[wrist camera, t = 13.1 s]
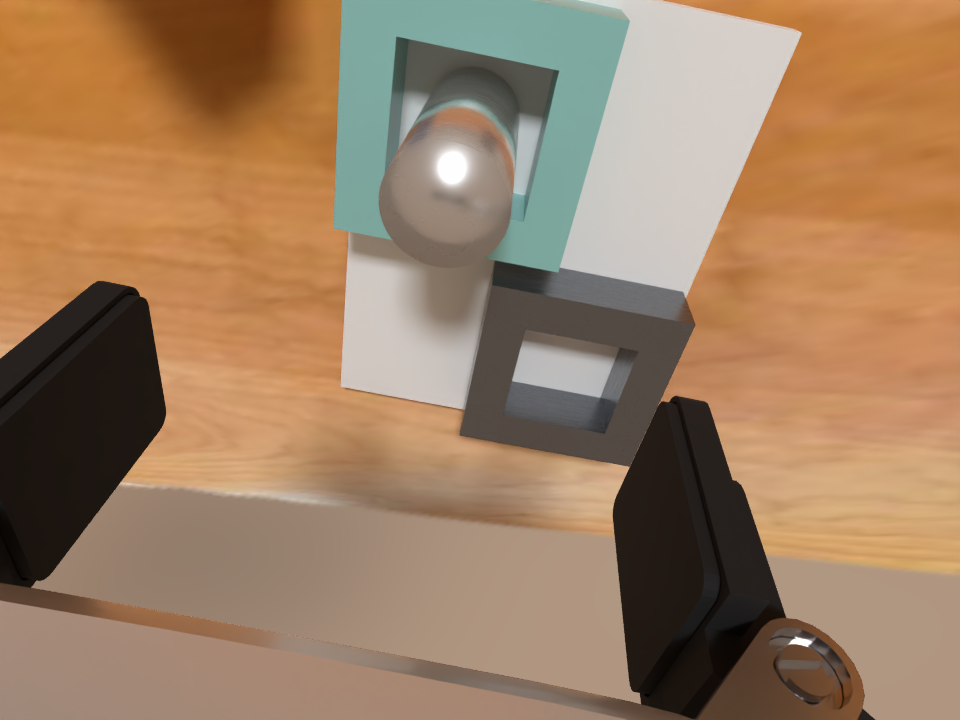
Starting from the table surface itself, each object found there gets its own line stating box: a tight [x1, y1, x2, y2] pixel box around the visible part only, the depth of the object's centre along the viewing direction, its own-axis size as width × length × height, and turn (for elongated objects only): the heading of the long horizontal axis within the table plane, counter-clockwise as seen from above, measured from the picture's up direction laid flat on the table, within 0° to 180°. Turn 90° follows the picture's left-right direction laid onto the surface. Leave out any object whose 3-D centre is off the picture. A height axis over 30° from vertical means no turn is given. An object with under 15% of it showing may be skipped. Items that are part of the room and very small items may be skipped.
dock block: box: [334, 0, 630, 273], centre depth 25 cm, size 10×10×3 cm
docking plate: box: [341, 0, 802, 409], centre depth 30 cm, size 17×22×1 cm
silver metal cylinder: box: [379, 66, 520, 268], centre depth 23 cm, size 4×4×10 cm
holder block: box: [460, 260, 695, 467], centre depth 32 cm, size 10×10×3 cm
